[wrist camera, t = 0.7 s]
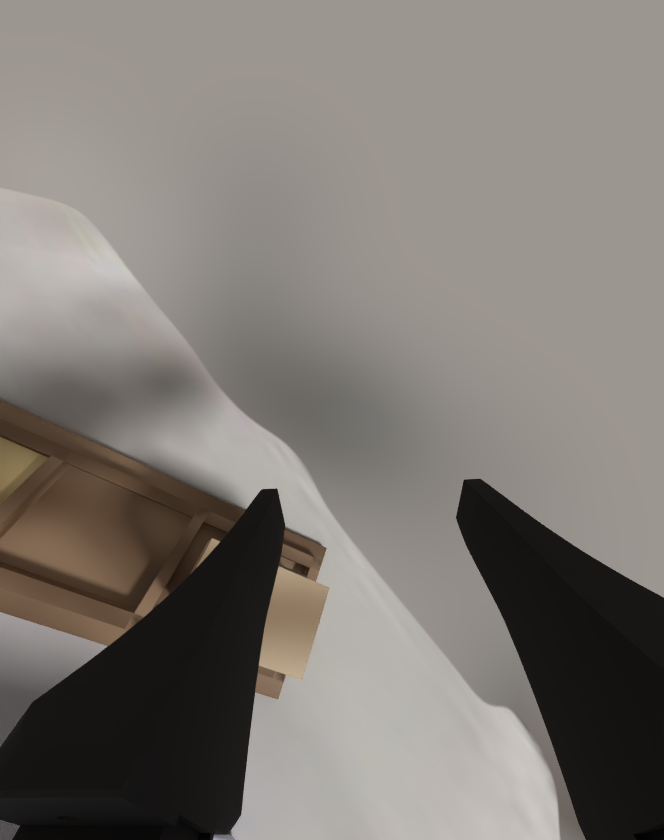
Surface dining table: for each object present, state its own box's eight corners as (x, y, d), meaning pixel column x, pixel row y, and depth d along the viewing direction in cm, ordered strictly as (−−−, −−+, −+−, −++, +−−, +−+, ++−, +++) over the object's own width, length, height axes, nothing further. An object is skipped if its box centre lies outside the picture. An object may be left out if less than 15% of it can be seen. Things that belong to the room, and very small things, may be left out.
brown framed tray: (275, 695, 19) (282, 707, 17) (-307, 510, 13) (-372, 505, 11) (323, 548, 24) (332, 548, 23) (-72, 368, 18) (-96, 352, 17)
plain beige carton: (267, 635, 20) (302, 680, 13) (174, 601, 18) (160, 632, 12) (290, 573, 22) (330, 584, 15) (209, 539, 20) (213, 535, 14)
